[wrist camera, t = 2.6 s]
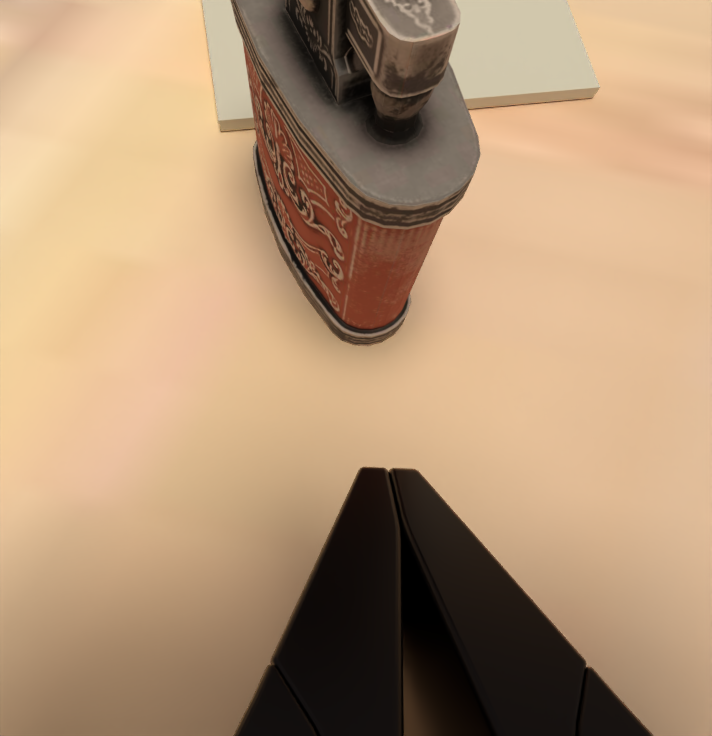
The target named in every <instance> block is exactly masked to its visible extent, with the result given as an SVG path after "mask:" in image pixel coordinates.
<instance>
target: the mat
mask: <svg viewBox="0 0 712 736" xmlns="http://www.w3.org/2000/svg"><path fill="white" fill-rule="evenodd" d="M455 1H456V3H457V6H458V8H459V10H460V12H461V14H460V25H459V28H458V31H457V34H456V38H455V41H454V44H453V48H452V51H451V54H450V57H449V63H450V65H451V67H452V69H453V71H454V74H455V76H456V79H457V82H458V84H459V87H460V90H461V92H462V95H463V98H464V100H465V103H466V106H467V108H468V109H475V108H486V107H497V106H508V105H519V104H530V103H541V102H552V101H563V100H574V99H585V98H593V97H594V95H595V94H596V93H597V91H598V90H599V88H600V86H599V83H598V80H597V78H596V75H595V73H594V70H593V67H592V65H591V62H590V60H589V57H588V54H587V52H586V49H585V46H584V44H583V41H582V39H581V36H580V33H579V31H578V28H577V26H576V23H575V20H574V18H573V15H572V13H571V10H570V7H569V5H568V2H567V0H455ZM202 5H203V12H204V19H205V26H206V34H207V41H208V48H209V56H210V63H211V70H212V78H213V85H214V92H215V100H216V107H217V114H218V121H219V125H220V130H221V131H231V130H242V129H253V128H255V123H254V116H253V109H252V102H251V95H250V89H249V82H248V75H247V68H246V61H245V54H244V47H243V40H242V37H241V35H240V32H239V30H238V28H237V25H236V21H235V17H234V13H233V9H232V5H231V1H230V0H202Z"/></svg>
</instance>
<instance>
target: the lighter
mask: <svg viewBox="0 0 712 736" xmlns="http://www.w3.org/2000/svg"><path fill="white" fill-rule="evenodd" d="M230 1H231V5H232V9H233V13H234V17H235V21H236V25H237V28H238V30H239V32H240V35H241V37H242V40H243V47H244V54H245V61H246V68H247V75H248V82H249V89H250V95H251V102H252V109H253V116H254V123H255V130H256V137H257V140H256V142H255V144H254V146H253V159H254V165H255V171H256V177H257V181H258V185H259V189H260V193H261V198H262V202H263V206H264V210H265V214H266V216H267V219H268V222H269V224H270V227H271V229H272V232H273V235H274V237H275V240H276V242H277V245H278V248H279V250H280V253H281V255H282V257H283V258H284V260H285V262H286V264H287V265H288V267H289V269H290V271H291V272H292V274H293V276H294V278H295V279H296V281H297V283H298V285H299V286H300V288H301V290H302V292H303V293H304V295H305V296H306V298H307V299H308V300H309V302H310V303H311V304H312V306H313V307H314V308H315V310H316V311H317V312H318V314H319V315H320V316H321V318H322V319H323V320H324V322H325V323H326V324H327V326H328V327H329V328H330V330H331V331H332V332H333V333H334V334H335V335H336V336H337V337H338V338H339V339H341V340H342V341H345V342H348V343H350V344H353V345H367V346H368V345H372V344H376V343H380V342H383V341H384V340H386V339H387V338H389V337H391V336H392V335H394V334H395V332H396V331H397V330H398V329H399V328H400V326H401V325H402V323H403V321H404V319H405V317H406V315H407V312H408V309H409V306H410V303H411V298H410V291H411V289H412V286H413V284H414V282H415V280H416V277H417V275H418V273H419V271H420V268H421V266H422V264H423V262H424V259H425V257H426V255H427V253H428V250H429V248H430V246H431V244H432V241H433V239H434V237H435V235H436V233H437V230H438V228H439V226H440V224H441V221H442V219H443V217H444V216H446V215H447V214H449V213H450V212H451V211H452V210H453V209H454V207H455V206H456V205H457V204H458V203H459V202H460V200H461V199H462V198H463V196H464V194H465V192H466V190H467V188H468V185H469V183H470V181H471V179H472V177H473V175H474V173H475V170H476V167H477V164H478V160H479V157H480V147H479V140H478V135H477V132H476V130H475V127H474V124H473V122H472V119H471V116H470V114H469V111H468V108H467V106H466V103H465V100H464V98H463V95H462V92H461V90H460V87H459V84H458V82H457V79H456V76H455V74H454V71H453V69H452V67H451V65H450V63H449V57H450V54H451V51H452V48H453V44H454V41H455V38H456V34H457V31H458V28H459V25H460V14H461V12H460V10H459V8H458V6H457V3H456V1H455V0H230Z"/></svg>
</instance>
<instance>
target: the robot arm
mask: <svg viewBox="0 0 712 736" xmlns="http://www.w3.org/2000/svg"><path fill="white" fill-rule="evenodd" d="M234 736H653V735H652V733H651V732H650V731H649V730H648V729H647V728H646V727H645V726H644V725H643V724H642V723H641V721H640V720H639V719H638V718H637V717H636V716H635V715H634V714H633V713H632V712H631V711H630V710H629V708H628V707H627V706H626V705H625V704H624V703H623V702H622V701H621V700H620V699H619V698H618V696H617V695H616V694H615V693H614V692H613V691H612V690H611V688H610V687H609V686H608V685H607V684H606V683H605V682H604V681H603V679H602V678H601V677H600V676H599V675H598V674H597V673H596V672H595V670H594V669H593V668H591V667H587V668H586V661H585V659H584V658H583V657H582V656H581V655H580V654H579V653H578V651H577V650H576V649H575V648H574V647H573V646H572V645H571V644H570V642H569V641H568V640H567V639H566V638H565V637H564V636H563V634H562V633H561V632H560V631H559V630H558V629H557V628H556V627H555V625H554V624H553V623H552V622H551V621H550V620H549V619H548V617H547V616H546V615H545V614H544V613H543V612H542V611H541V610H540V608H539V607H538V606H537V605H536V604H535V603H534V602H533V600H532V599H531V598H530V597H529V596H528V595H527V594H526V593H525V591H524V590H523V589H522V588H521V587H520V586H519V585H518V583H517V582H516V581H515V580H514V579H513V578H512V577H511V576H510V574H509V573H508V572H507V571H506V570H505V569H504V568H503V566H502V565H501V564H500V563H499V562H498V561H497V560H496V559H495V557H494V556H493V555H492V554H491V553H490V552H489V551H488V549H487V548H486V547H485V546H484V545H483V544H482V543H481V542H480V540H479V539H478V538H477V537H476V536H475V535H474V534H473V532H472V531H471V530H470V529H469V528H468V527H467V526H466V525H465V523H464V522H463V521H462V520H461V519H460V518H459V517H458V515H457V514H456V513H455V512H454V511H453V510H452V509H451V508H450V506H449V505H448V504H447V503H446V502H445V501H444V500H443V498H442V497H441V496H440V495H439V494H438V493H437V492H436V491H435V489H434V488H433V487H432V486H431V485H430V484H429V483H428V481H427V480H426V479H425V478H424V477H423V476H422V475H421V474H420V472H419V471H417V470H415V469H404V468H392V469H390V470H389V472H388V470H387V469H385V468H377V467H362V468H360V470H359V471H358V473H357V475H356V477H355V479H354V482H353V484H352V486H351V488H350V490H349V492H348V494H347V497H346V499H345V501H344V503H343V505H342V507H341V510H340V512H339V514H338V516H337V518H336V520H335V522H334V525H333V527H332V529H331V531H330V533H329V535H328V537H327V540H326V542H325V544H324V546H323V548H322V550H321V553H320V555H319V557H318V559H317V561H316V563H315V565H314V568H313V570H312V572H311V574H310V576H309V578H308V581H307V583H306V585H305V587H304V589H303V591H302V593H301V596H300V598H299V600H298V602H297V604H296V606H295V608H294V611H293V613H292V615H291V617H290V619H289V621H288V624H287V626H286V628H285V630H284V632H283V634H282V636H281V639H280V641H279V643H278V645H277V647H276V649H275V652H274V654H273V656H272V658H271V665H268V666H267V668H266V670H265V672H264V674H263V676H262V678H261V681H260V683H259V685H258V687H257V689H256V691H255V693H254V696H253V698H252V700H251V702H250V704H249V706H248V708H247V710H246V712H245V714H244V716H243V718H242V720H241V722H240V724H239V726H238V728H237V730H236V732H235V734H234Z"/></svg>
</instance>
